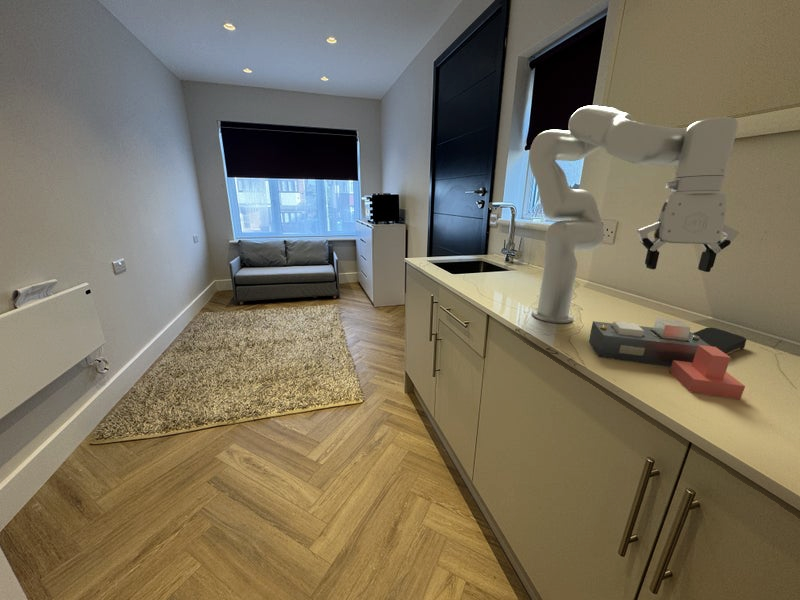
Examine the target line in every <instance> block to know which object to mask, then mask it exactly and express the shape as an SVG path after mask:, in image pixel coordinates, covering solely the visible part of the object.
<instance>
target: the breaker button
mask: <svg viewBox="0 0 800 600" xmlns="http://www.w3.org/2000/svg"><path fill="white" fill-rule="evenodd" d="M612 323H613V326H612V329H613V330H614V331H615V332H616V333H617V334H621V335H629V336H638V337H642V336H643V332H644V330H643V329H642V328H640V327H639V326H640V325H639V324H637V323H636V322H627V321H618V320H617V321H615V320H614V321H613V322H612Z"/></svg>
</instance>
